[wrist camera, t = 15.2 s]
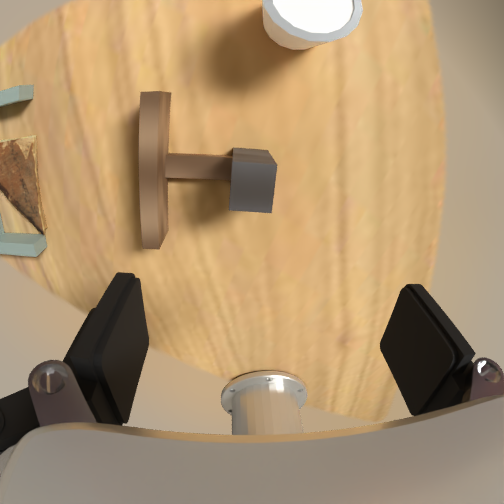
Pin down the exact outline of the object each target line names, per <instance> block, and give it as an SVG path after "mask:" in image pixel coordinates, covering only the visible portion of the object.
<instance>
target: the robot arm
mask: <svg viewBox="0 0 504 504" xmlns="http://www.w3.org/2000/svg"><path fill="white" fill-rule="evenodd" d="M148 346H149V336H148V330H147V324H146V318H145V312H144V305H143V298H142V290H141V283H140V279H139V278H135V275H134V274H133V273H121V272H118V273H117V274H116V275H115V277H114V278H113V280H112V281H111V283H110V285H109V286H108V288H107V290H106V291H105V293H104V295H103V296H102V298H101V300H100V302H99V303H98V305H97V307H96V308H93V309H92V310H91V311H90V312H89V314H88V316H87V318H86V319H85V321H84V323H83V325H82V327H81V328H80V330H79V332H78V334H77V335H76V337H75V339H74V341H73V343H72V345H71V347H70V348H69V350H68V352H67V354H66V356H65V358H64V360H63V362H62V361H59V360H48V361H44V362H42V363H40V364H38V365H37V366H36V367H35V368H34V369H33V370H32V371H31V373H30V374H29V378H28V387H27V388H25V389H23V390H20V391H18V392H16V393H13V394H11V395H9V396H7V397H4V398H2V399H0V504H504V373H503V371H502V369H501V368H500V366H499V365H498V364H497V363H495V362H494V361H493V360H491V359H488V358H478V359H477V360H476V361H475V362H474V363H473V362H472V361H471V360H472V358H473V357H474V355H475V352H474V350H473V349H472V348H471V346H470V345H469V344H468V342H467V341H466V340H465V338H464V337H463V336H462V334H461V333H460V332H459V330H458V329H457V328H456V327H455V325H454V324H453V323H452V321H451V320H450V319H449V318H448V316H447V315H446V314H445V312H444V311H443V310H442V309H441V307H440V306H439V305H438V304H437V303H436V301H435V300H434V299H433V298H432V297H431V295H430V294H429V293H428V292H427V291H426V289H425V288H424V287H423V286H422V285H421V284H407V285H406V286H405V287H404V288H402V289H401V291H400V294H399V297H398V299H397V302H396V305H395V307H394V310H393V312H392V315H391V317H390V320H389V322H388V325H387V327H386V330H385V332H384V334H383V337H382V339H381V342H380V349H381V352H382V354H383V356H384V358H385V360H386V362H387V364H388V366H389V368H390V370H391V372H392V374H393V377H394V379H395V381H396V383H397V385H398V387H399V389H400V391H401V394H402V396H403V398H404V400H405V402H406V405H407V407H408V409H409V411H410V413H411V415H413V417H409V418H404V419H400V420H395V421H390V422H384V423H379V424H373V425H367V426H361V427H354V428H347V429H340V430H331V431H322V432H311V433H303V427H302V422H301V416H300V410H299V409H300V408H301V407H302V406H303V405H304V404H305V402H306V400H307V389H306V386H305V384H304V383H303V381H302V380H300V379H299V378H298V377H296V376H294V375H292V374H288V373H285V372H279V371H258V372H253V373H249V374H245V375H242V376H240V377H238V378H236V379H234V380H232V381H231V382H229V383H228V384H227V385H226V386H225V387H224V389H223V391H222V394H221V404H222V407H223V408H224V409H225V411H227V413H229V414H230V415H232V435H216V434H198V433H184V432H171V431H161V430H153V429H145V428H137V427H128V426H122V424H123V423H127V422H128V420H129V416H130V412H131V408H132V404H133V400H134V396H135V393H136V389H137V385H138V382H139V378H140V374H141V371H142V367H143V364H144V360H145V357H146V353H147V350H148Z"/></svg>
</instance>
